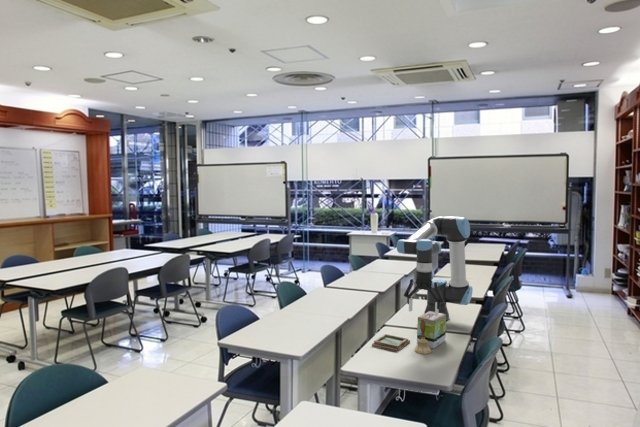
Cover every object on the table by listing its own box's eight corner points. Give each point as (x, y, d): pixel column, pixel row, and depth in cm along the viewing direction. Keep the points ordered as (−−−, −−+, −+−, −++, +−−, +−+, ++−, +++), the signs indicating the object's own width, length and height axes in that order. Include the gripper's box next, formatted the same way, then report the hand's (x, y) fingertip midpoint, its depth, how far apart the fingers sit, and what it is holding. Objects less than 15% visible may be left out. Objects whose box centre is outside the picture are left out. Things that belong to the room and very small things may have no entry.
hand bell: (418, 354, 218) (419, 322, 217) (411, 348, 226) (412, 317, 225) (434, 353, 219) (434, 321, 218) (427, 347, 228) (427, 316, 226)
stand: (385, 337, 242) (385, 333, 242) (409, 342, 234) (410, 338, 234) (371, 346, 229) (371, 341, 229) (396, 352, 221) (396, 347, 221)
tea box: (434, 349, 225) (435, 320, 224) (416, 344, 231) (416, 316, 230) (446, 340, 237) (446, 313, 236) (428, 336, 243) (428, 310, 242)
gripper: (397, 269, 224) (397, 310, 225) (446, 274, 210) (445, 319, 211) (403, 267, 230) (403, 307, 232) (451, 272, 216) (450, 315, 217)
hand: (423, 313), depth 221 cm, fingers open, 13 cm apart
